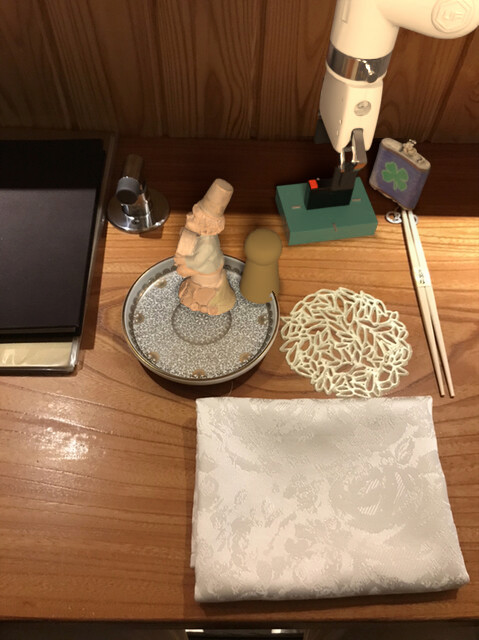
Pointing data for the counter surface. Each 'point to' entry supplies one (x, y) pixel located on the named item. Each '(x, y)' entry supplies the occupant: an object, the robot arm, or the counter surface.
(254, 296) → the cork
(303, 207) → the base
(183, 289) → the figurine
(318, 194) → the clamp handle
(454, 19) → the robot arm
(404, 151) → the flask
